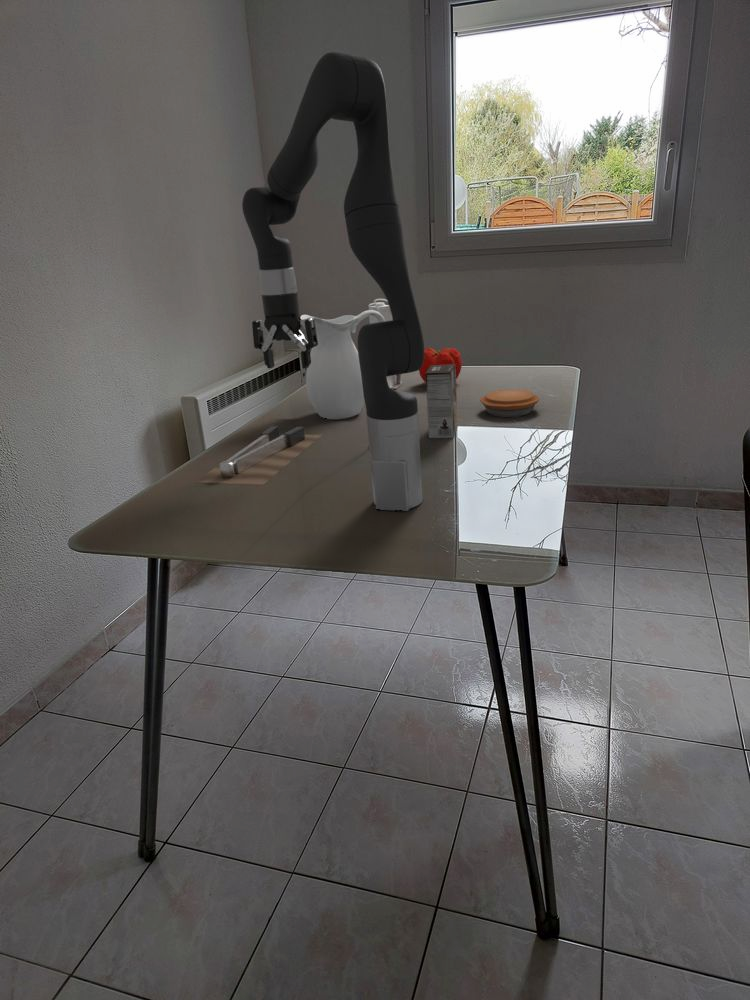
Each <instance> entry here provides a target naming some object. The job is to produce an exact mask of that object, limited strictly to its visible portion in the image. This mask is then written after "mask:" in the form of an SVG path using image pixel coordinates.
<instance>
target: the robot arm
mask: <svg viewBox="0 0 750 1000" xmlns="http://www.w3.org/2000/svg"><path fill="white" fill-rule="evenodd" d="M384 80H385V79H384V76H383V73H382V69H381V68H380V66H379V65H378V64H377V62H375V61H374V60H372V59H371V58H367V57H362V56H357V55H352V54H347V53H342V52H335V51H334V52H332V51H331V52H328V53H325V54H324V55H322V56H321V57H320V58H319V59H318V61H317V62H316V65H314V68H313V70H312V72H311V75H310V77H309V80H308V82H307V85H306V87H305V89H304V90H305V91H304V93H303V96H302V99H301V101H300V104H299V105H298V106H299V107H298V110H297V111H296V116H295V118H294V121H293V124H292V126H291V129H290V132H289V134H288V137H287V139H286V140H285V143H284V145H283V146H282V148H281V150H280V151H279V153H278V154H277V156H276V158H275V159H274V161H273V162H272V165H271V166H270V168H269V170H268V172H267V177H266V181H267V185H268V186H262V187H261V186H259V187H257V186H256V187H250V188H249V189H247V190H246V191H245V193H244V195H243V197H242V198H243V199H242V206H241V207H242V213H243V216H244V220H245V222H246V224H247V227H248V229H249V232H250V235H251V238H252V239H253V242H254V245H255V248H256V252H257V253H256V254H257V261H258V269H259V286H260V292H261V293H260V294H261V300H262V307H263V314H264V318H265V319H264V320H262V319H256V320H253V321H252V322H251V326H252V327H251V329H252V337H253V339H252V340H253V347H254V348H255V349H259V350H261V351H262V352H263V361H264V364H265V365H264V366H266V368H267V369H273V368H274V367H275V359H274V351H273V349H272V348H273V346H274V344H275V343H276V341H282V340H284V341H292V342H293V344H295V345H297V347H299V348H300V350H301V351H300V359H301V366H302V369H307V368H308V367H309V365H310V364H311V356H310V354H311V350H312V348H313V347H315V346H317V345H318V340H317V334H316V328H315V321H314V319H313V318H309V319H306V320H301V318H300V317H301V316H300V306H299V305H300V303H299V297H298V296H299V295H298V285H297V284H298V283H297V278H296V275H295V270H294V269H295V268H294V262H293V254H292V246H291V245H292V244H291V242H290V240H288V238H286V237H282V236H276V235H275V234H274V232H273V231H272V229H271V227H270V226H274V225H275V226H276V225H284V224H286V223H289V222H290V221H291V220H292V219H293V218H294V217H295V216H296V213H297V208H298V205H299V201H300V198H301V194H302V192H303V190H304V188H306V186H307V184H308V183H310V182H309V181H311V179H312V177H313V175H314V174H315V172H316V169H317V167H318V162H319V146H318V145H319V144H318V135H319V132H321V130H322V128H323V127H324V126H325V125H326V123H328V122H329V121H330V120H331V119H332V120H337V121H342V122H343V121H345V122H351V123H353V126H354V130H355V134H356V146H357V158H356V162H355V167H354V171H353V172H352V176H351V178H350V181H349V184H348V187H347V190H346V193H345V195H344V196H345V197H344V200H343V201H344V202H343V213H344V219H345V226H346V232H347V238H348V243H349V247H350V249H351V251H352V253H353V254H354V256H355V257H356V259H357V260H358V261H359V263H360V264H361V266H362V267H363V268H364V269H365V270H366V272H367V273H368V274H369V275H370V277H371V278H372V279H373V280H374V281H375V283H376V284H377V285H378V286H379V288H380V289H381V291H382V293H383V295H384V297H385V299H386V300H387V301H388V302H387V305H389V307H390V310H391V314H392V321H385V322H378V323H371V324H370V323H368V324H364V325H363V326H361V327H360V330H359V331H358V336H357V351H358V356H359V363H360V370H361V377H362V386H363V395H364V400H365V402H364V405H365V411H366V412H365V413H366V421H367V422H366V423H367V436H368V437H367V439H368V447H369V449H368V450H369V461H370V470H371V471H370V473H371V475H370V476H371V486H372V497H373V503H374V506H375V505H376V506H375V510H376V509H380V511H395V510H398V511H399V510H402V511H401V512H408V511H410V509H412V508H415V507H417V506H419V505H420V504H422V502H423V489H422V487H423V486H422V468H421V450H420V449H421V447H420V433H419V432H420V430H419V425H420V424H419V412H418V411H419V406H418V399H417V397H416V396H415V395H414V394H412V393H410V392H407V391H403V390H398V389H397V390H394V389H391V388H390V387H389V386H388V382H387V377H386V376H392V375H395V376H396V375H398V374H401V375H405V374H408V373H409V374H410V373H414V372H417V371H418V372H419V369H420V368H421V367H422V365H423V362H424V350H425V343H424V334H423V330H422V326H421V325H422V324H421V321H420V319H419V314H418V310H417V305H416V302H415V298H414V297H415V296H414V292H413V289H412V284H411V279H410V274H409V273H410V272H409V269H408V268H409V267H408V263H407V262H408V261H407V255H406V250H405V241H404V233H403V225H402V219H401V212H400V207H399V201H398V196H397V191H396V190H397V189H396V185H395V177H394V171H393V164H392V156H391V145H390V134H389V121H388V119H389V118H388V105H387V91H386V85H385V84H386V83H385V81H384ZM302 327H303V330H305V334H306V336H305V334H303V332H302V331H301V330H300V329H302ZM264 329H266V330H267V331H268V333H267V335H266V337H265V338H264ZM398 511H397V512H398ZM399 512H400V511H399Z"/></svg>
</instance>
